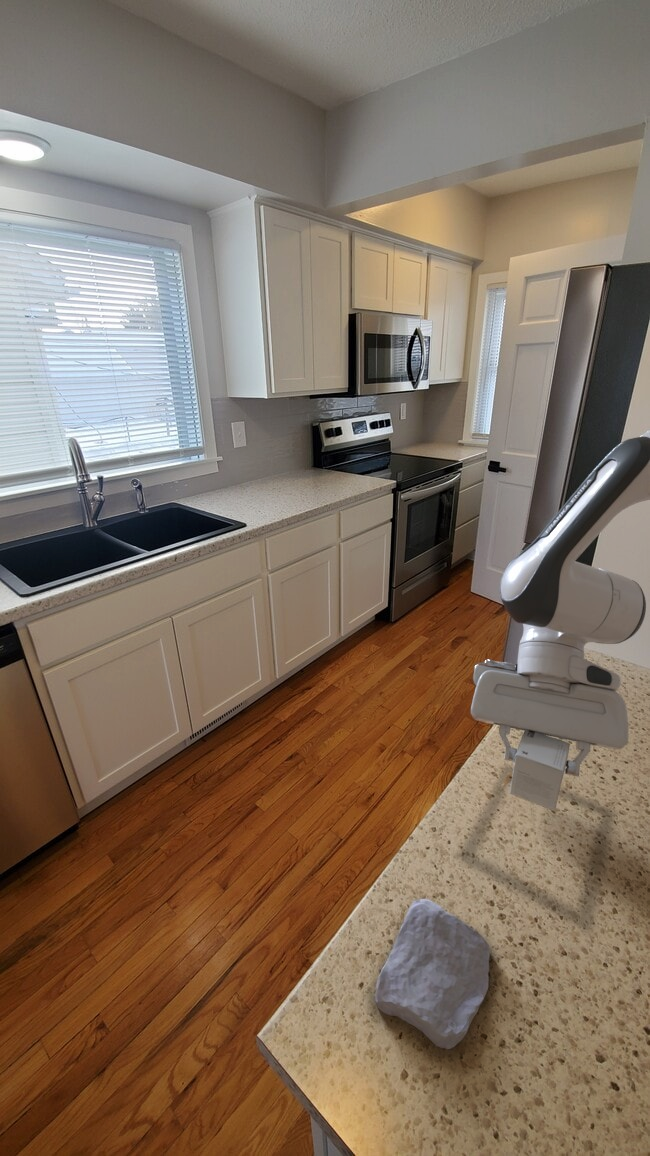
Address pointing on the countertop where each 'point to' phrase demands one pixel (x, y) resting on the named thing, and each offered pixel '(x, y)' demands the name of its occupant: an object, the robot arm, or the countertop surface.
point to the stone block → (435, 974)
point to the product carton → (539, 769)
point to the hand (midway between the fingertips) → (540, 768)
